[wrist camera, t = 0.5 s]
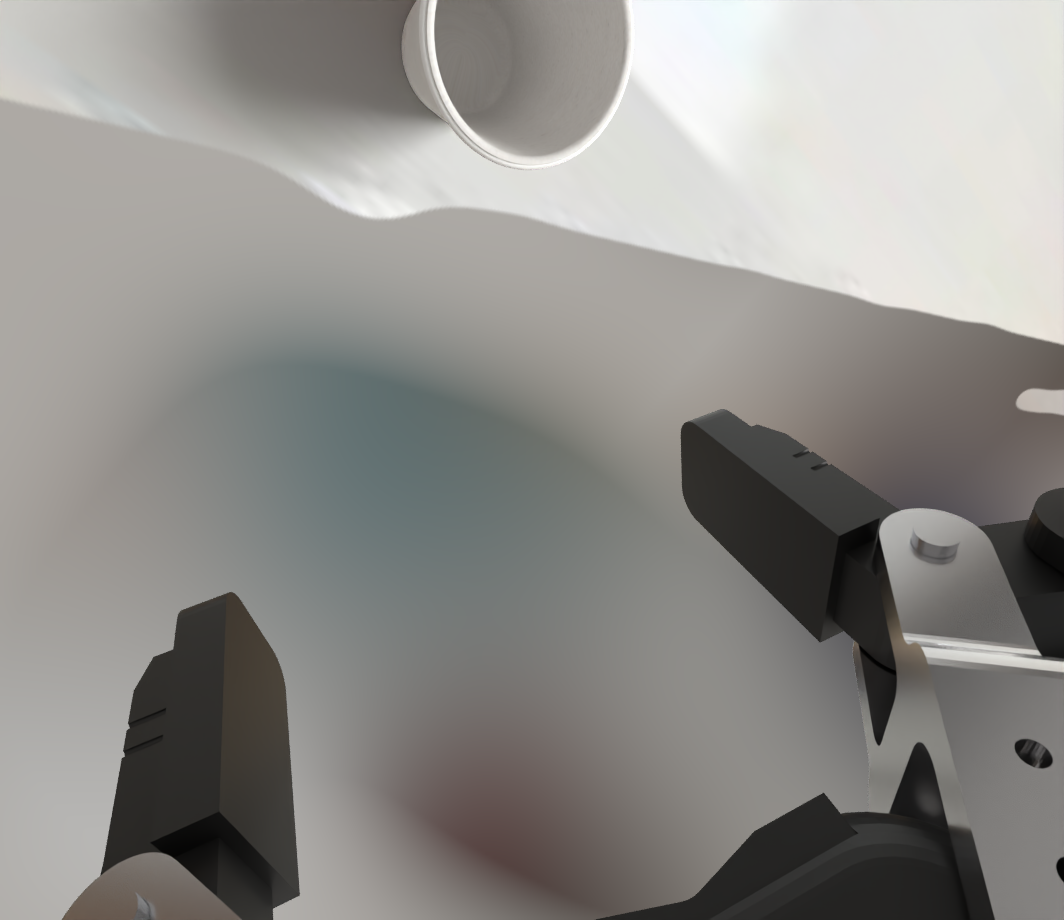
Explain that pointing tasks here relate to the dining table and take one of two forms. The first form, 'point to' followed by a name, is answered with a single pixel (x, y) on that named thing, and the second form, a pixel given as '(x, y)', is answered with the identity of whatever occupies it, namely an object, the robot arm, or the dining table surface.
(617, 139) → the dining table surface
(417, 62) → the dixie cup
